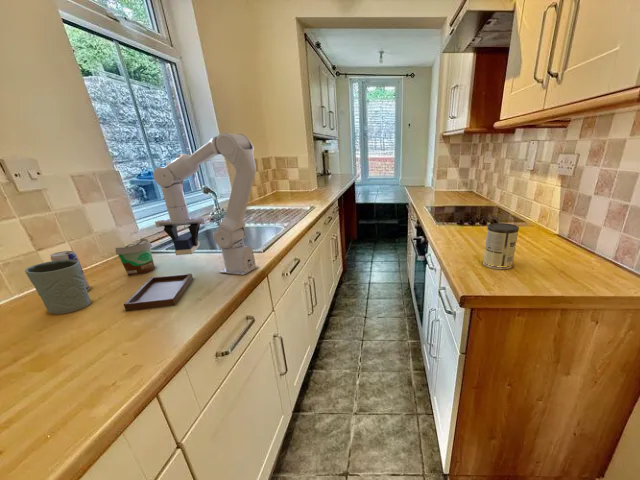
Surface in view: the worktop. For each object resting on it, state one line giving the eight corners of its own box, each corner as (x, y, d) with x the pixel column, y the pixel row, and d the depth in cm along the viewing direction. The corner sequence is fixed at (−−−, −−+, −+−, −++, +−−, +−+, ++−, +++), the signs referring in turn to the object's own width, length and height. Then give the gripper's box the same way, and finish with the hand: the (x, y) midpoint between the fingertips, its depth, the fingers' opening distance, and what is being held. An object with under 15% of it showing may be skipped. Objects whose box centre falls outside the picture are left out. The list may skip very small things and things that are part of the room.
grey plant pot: (56, 302, 89) (37, 262, 84) (101, 296, 93) (84, 257, 88) (37, 318, 81) (14, 275, 76) (87, 311, 84) (68, 269, 79)
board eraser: (192, 254, 106) (188, 240, 104) (176, 255, 105) (171, 241, 103) (200, 244, 116) (196, 232, 114) (185, 246, 114) (181, 233, 112)
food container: (142, 277, 106) (132, 248, 102) (124, 277, 106) (113, 248, 102) (166, 264, 117) (158, 238, 113) (150, 264, 117) (141, 238, 113)
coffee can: (487, 258, 122) (492, 221, 116) (515, 263, 117) (521, 225, 111) (478, 266, 114) (483, 227, 108) (508, 271, 109) (515, 231, 103)
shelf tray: (193, 278, 104) (191, 273, 103) (174, 305, 87) (172, 298, 86) (153, 282, 101) (151, 277, 101) (125, 311, 84) (123, 304, 83)
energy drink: (94, 289, 97) (79, 251, 92) (74, 296, 93) (56, 257, 88) (83, 286, 99) (67, 249, 94) (62, 293, 94) (44, 255, 89)
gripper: (204, 202, 109) (213, 241, 115) (156, 205, 106) (167, 244, 111) (198, 206, 103) (208, 246, 109) (148, 208, 100) (160, 250, 105)
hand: (187, 246), depth 110 cm, fingers closed on board eraser, 5 cm apart
